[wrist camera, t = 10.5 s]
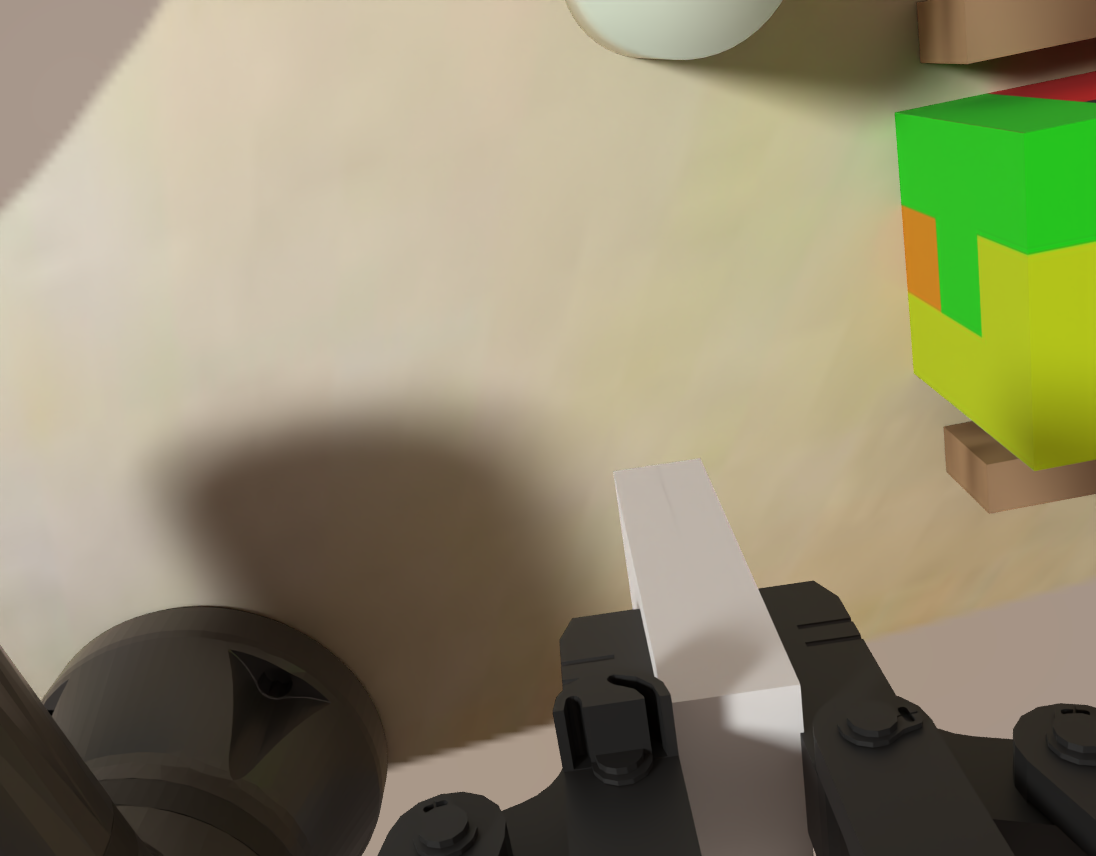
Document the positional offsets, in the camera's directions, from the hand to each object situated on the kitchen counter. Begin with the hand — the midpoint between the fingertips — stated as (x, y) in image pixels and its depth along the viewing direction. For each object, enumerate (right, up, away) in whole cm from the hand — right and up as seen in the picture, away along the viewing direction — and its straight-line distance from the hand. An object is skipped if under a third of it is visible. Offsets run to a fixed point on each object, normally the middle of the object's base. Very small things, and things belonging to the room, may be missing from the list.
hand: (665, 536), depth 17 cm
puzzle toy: (+16, +10, +21) cm, 28 cm away
